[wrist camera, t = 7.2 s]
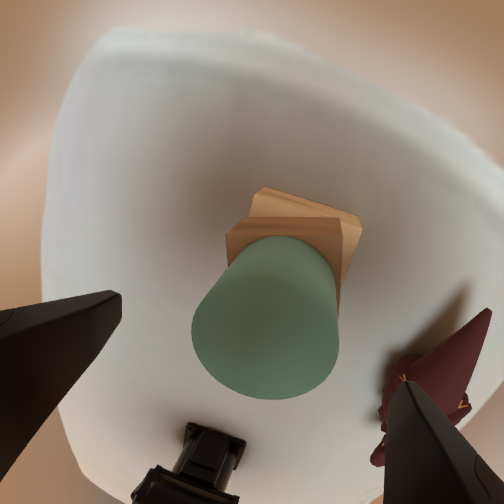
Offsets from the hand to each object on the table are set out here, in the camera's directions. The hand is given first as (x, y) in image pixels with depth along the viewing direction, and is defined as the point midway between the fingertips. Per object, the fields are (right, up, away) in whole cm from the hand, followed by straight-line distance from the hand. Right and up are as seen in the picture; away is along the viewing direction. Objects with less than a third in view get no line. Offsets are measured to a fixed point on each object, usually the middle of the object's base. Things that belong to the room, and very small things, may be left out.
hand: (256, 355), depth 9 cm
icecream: (+13, -6, +12) cm, 19 cm away
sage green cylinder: (+1, +1, +5) cm, 6 cm away
